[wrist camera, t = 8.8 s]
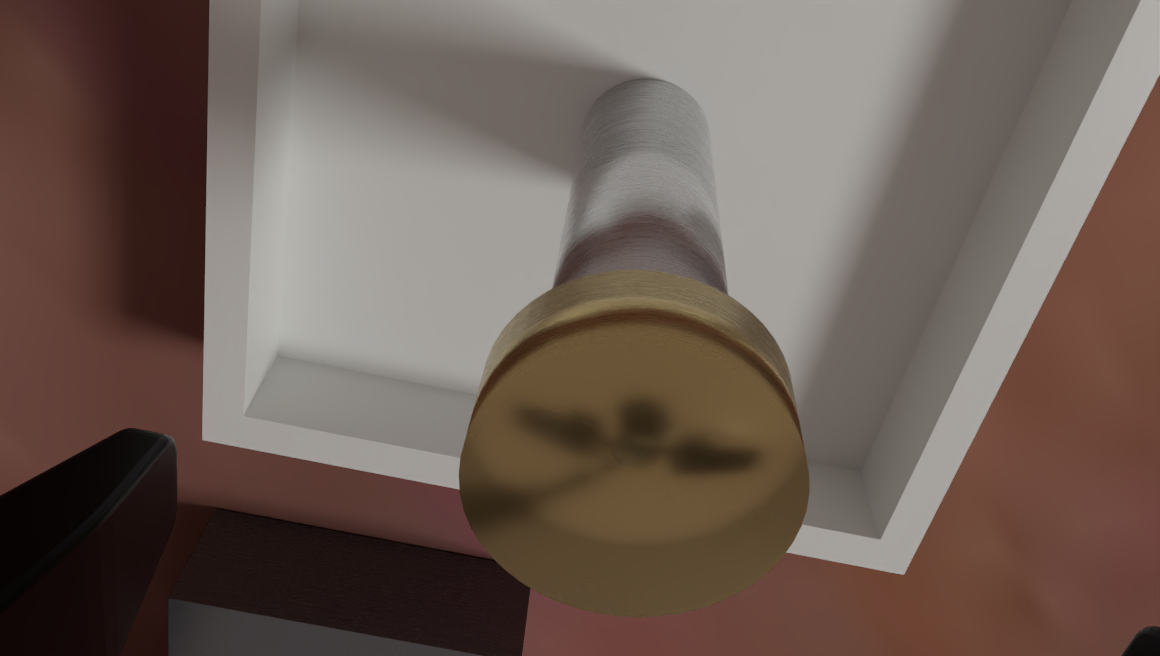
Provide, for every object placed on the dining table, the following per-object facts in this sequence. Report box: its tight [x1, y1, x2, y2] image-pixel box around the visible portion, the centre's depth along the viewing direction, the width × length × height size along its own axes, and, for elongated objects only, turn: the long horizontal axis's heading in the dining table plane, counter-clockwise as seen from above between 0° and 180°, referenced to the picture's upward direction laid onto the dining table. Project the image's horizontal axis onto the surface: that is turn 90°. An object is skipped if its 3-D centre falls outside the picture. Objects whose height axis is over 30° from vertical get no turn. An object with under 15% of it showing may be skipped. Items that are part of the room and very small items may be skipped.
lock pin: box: [459, 79, 810, 617], centre depth 15 cm, size 4×4×10 cm
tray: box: [202, 0, 1160, 575], centre depth 19 cm, size 15×15×3 cm
